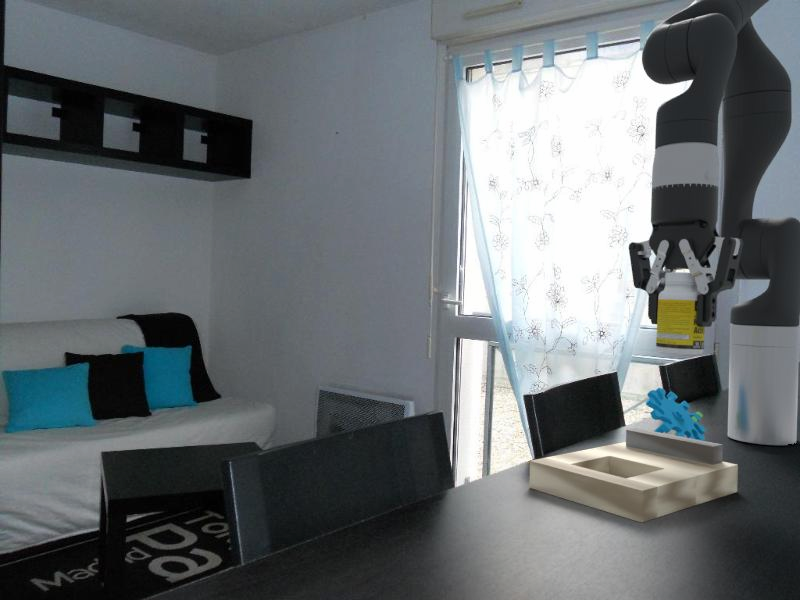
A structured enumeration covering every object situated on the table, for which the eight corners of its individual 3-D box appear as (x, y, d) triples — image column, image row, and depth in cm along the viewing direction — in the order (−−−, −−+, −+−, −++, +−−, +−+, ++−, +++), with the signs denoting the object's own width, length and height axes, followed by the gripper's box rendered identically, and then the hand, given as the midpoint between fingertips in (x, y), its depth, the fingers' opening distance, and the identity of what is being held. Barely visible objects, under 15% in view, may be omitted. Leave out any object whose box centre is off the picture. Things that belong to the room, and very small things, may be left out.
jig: (626, 465, 88) (627, 425, 88) (737, 491, 77) (738, 446, 77) (529, 487, 77) (530, 442, 77) (641, 522, 66) (642, 469, 66)
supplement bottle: (700, 356, 82) (702, 272, 82) (651, 353, 84) (654, 271, 84) (707, 354, 86) (709, 274, 86) (661, 351, 89) (663, 273, 89)
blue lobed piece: (675, 439, 97) (640, 382, 103) (647, 463, 100) (615, 406, 107) (725, 443, 102) (689, 388, 109) (697, 465, 106) (663, 411, 112)
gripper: (759, 183, 82) (755, 328, 82) (649, 195, 93) (645, 322, 93) (726, 174, 77) (722, 328, 77) (615, 188, 89) (611, 322, 89)
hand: (680, 324), depth 85 cm, fingers closed on supplement bottle, 5 cm apart
